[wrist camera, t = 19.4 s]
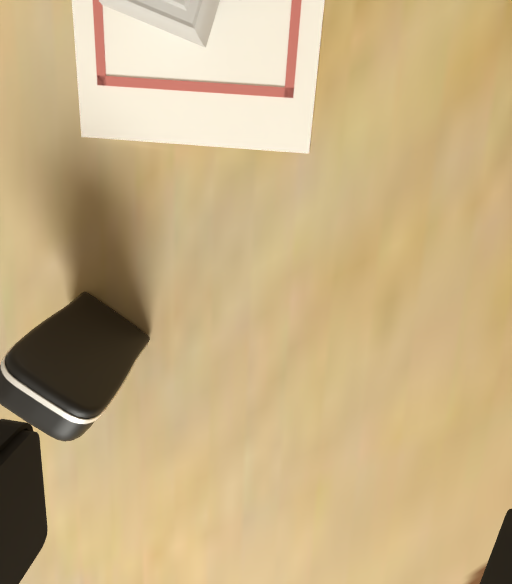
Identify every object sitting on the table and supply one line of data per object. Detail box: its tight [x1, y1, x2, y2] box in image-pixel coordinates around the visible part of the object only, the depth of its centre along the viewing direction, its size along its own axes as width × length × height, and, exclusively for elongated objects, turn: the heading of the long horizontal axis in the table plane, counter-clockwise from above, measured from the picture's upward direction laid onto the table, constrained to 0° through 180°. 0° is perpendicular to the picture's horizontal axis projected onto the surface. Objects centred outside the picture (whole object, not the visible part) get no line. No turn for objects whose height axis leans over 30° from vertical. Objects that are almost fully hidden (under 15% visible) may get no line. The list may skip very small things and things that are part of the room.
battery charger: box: [0, 292, 150, 441], centre depth 32 cm, size 7×4×11 cm, turn 53°
